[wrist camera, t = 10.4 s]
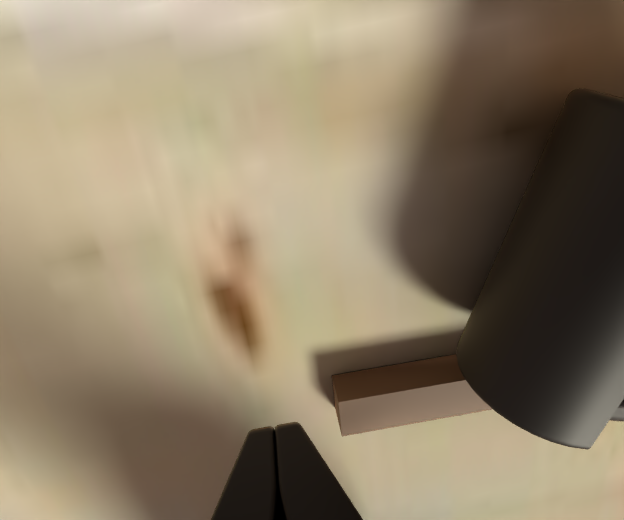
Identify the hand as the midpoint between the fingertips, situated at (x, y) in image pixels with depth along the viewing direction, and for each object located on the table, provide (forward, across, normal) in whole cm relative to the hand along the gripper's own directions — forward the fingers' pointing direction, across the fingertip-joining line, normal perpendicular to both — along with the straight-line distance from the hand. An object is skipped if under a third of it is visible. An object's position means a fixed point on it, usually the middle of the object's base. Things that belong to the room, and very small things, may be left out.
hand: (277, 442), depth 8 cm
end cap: (+10, -11, +2) cm, 16 cm away
